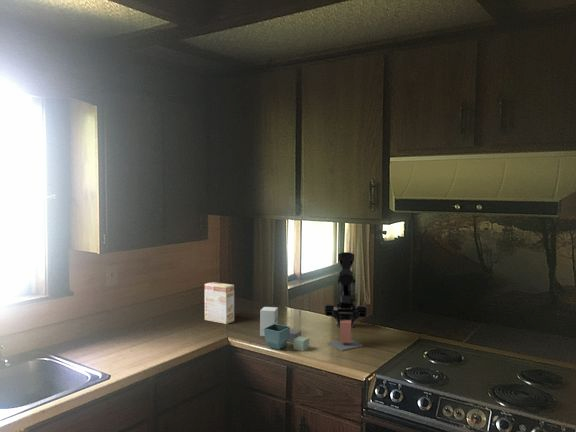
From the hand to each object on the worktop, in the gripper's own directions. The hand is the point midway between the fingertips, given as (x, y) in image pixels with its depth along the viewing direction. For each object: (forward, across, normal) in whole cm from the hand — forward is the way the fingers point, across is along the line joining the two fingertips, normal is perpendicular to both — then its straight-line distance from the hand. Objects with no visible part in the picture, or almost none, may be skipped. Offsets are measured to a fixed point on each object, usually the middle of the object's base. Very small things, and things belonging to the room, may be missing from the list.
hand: (345, 327), depth 223 cm
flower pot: (+10, -30, +2) cm, 32 cm away
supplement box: (-2, -36, +15) cm, 39 cm away
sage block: (+10, -19, +2) cm, 22 cm away
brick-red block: (+4, 0, +6) cm, 7 cm away
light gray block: (+3, -24, +9) cm, 26 cm away
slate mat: (+5, 0, +7) cm, 9 cm away
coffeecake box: (-16, -66, +29) cm, 74 cm away
